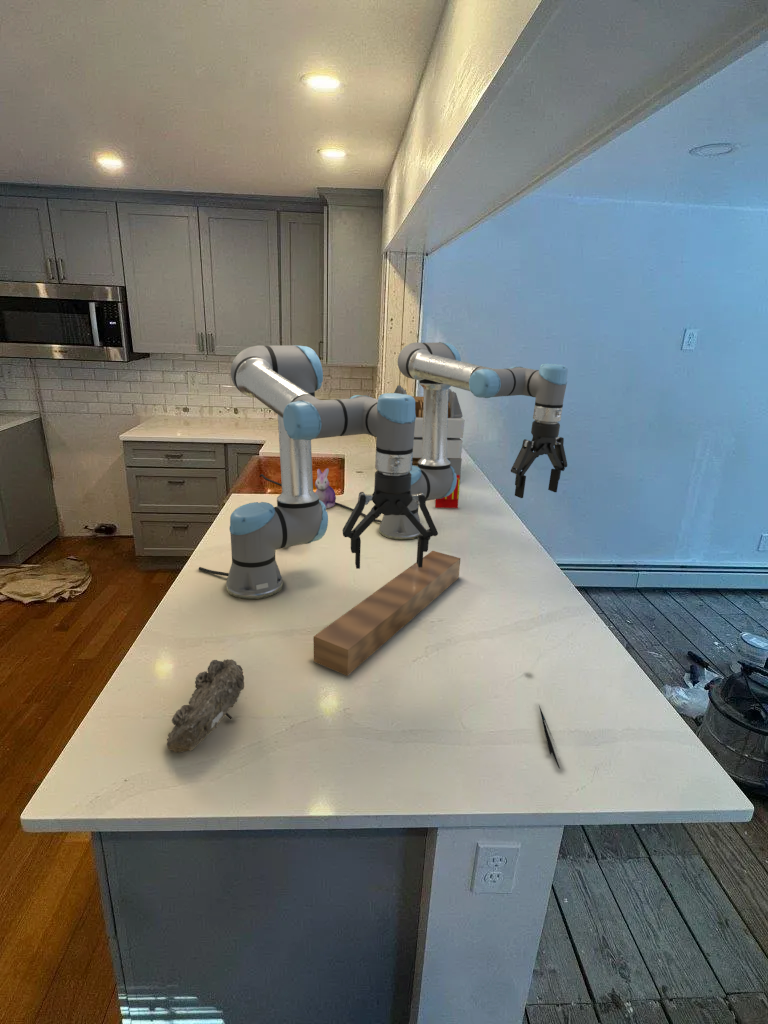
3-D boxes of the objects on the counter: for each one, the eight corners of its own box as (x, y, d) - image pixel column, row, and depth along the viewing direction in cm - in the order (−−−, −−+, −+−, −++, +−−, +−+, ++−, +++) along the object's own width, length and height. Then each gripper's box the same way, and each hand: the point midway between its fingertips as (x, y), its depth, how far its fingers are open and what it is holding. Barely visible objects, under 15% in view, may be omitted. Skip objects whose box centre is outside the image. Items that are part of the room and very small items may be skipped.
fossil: (192, 660, 117) (244, 628, 112) (224, 691, 120) (276, 661, 115) (142, 746, 98) (202, 712, 93) (182, 779, 101) (242, 748, 96)
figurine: (318, 511, 218) (318, 473, 213) (309, 502, 226) (309, 466, 221) (341, 508, 222) (341, 471, 217) (331, 500, 231) (331, 464, 226)
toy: (452, 466, 252) (464, 476, 223) (451, 496, 255) (462, 509, 226) (425, 465, 252) (433, 475, 222) (424, 495, 254) (431, 508, 225)
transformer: (382, 463, 289) (386, 382, 275) (445, 464, 293) (451, 384, 279) (390, 482, 257) (394, 392, 243) (460, 483, 261) (468, 394, 247)
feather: (529, 679, 125) (535, 673, 125) (559, 773, 99) (566, 766, 98) (523, 675, 125) (528, 669, 125) (551, 768, 98) (558, 761, 98)
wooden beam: (431, 570, 173) (432, 550, 171) (458, 578, 169) (460, 558, 167) (313, 661, 126) (313, 636, 124) (347, 676, 122) (348, 649, 120)
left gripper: (333, 476, 111) (332, 574, 118) (457, 476, 114) (448, 571, 121) (331, 466, 118) (330, 559, 125) (448, 466, 121) (440, 557, 128)
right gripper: (523, 427, 149) (513, 503, 156) (587, 421, 161) (575, 492, 168) (503, 421, 155) (494, 495, 162) (567, 416, 167) (556, 485, 174)
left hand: (388, 565), depth 123 cm, fingers open, 13 cm apart
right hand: (535, 493), depth 165 cm, fingers open, 13 cm apart
